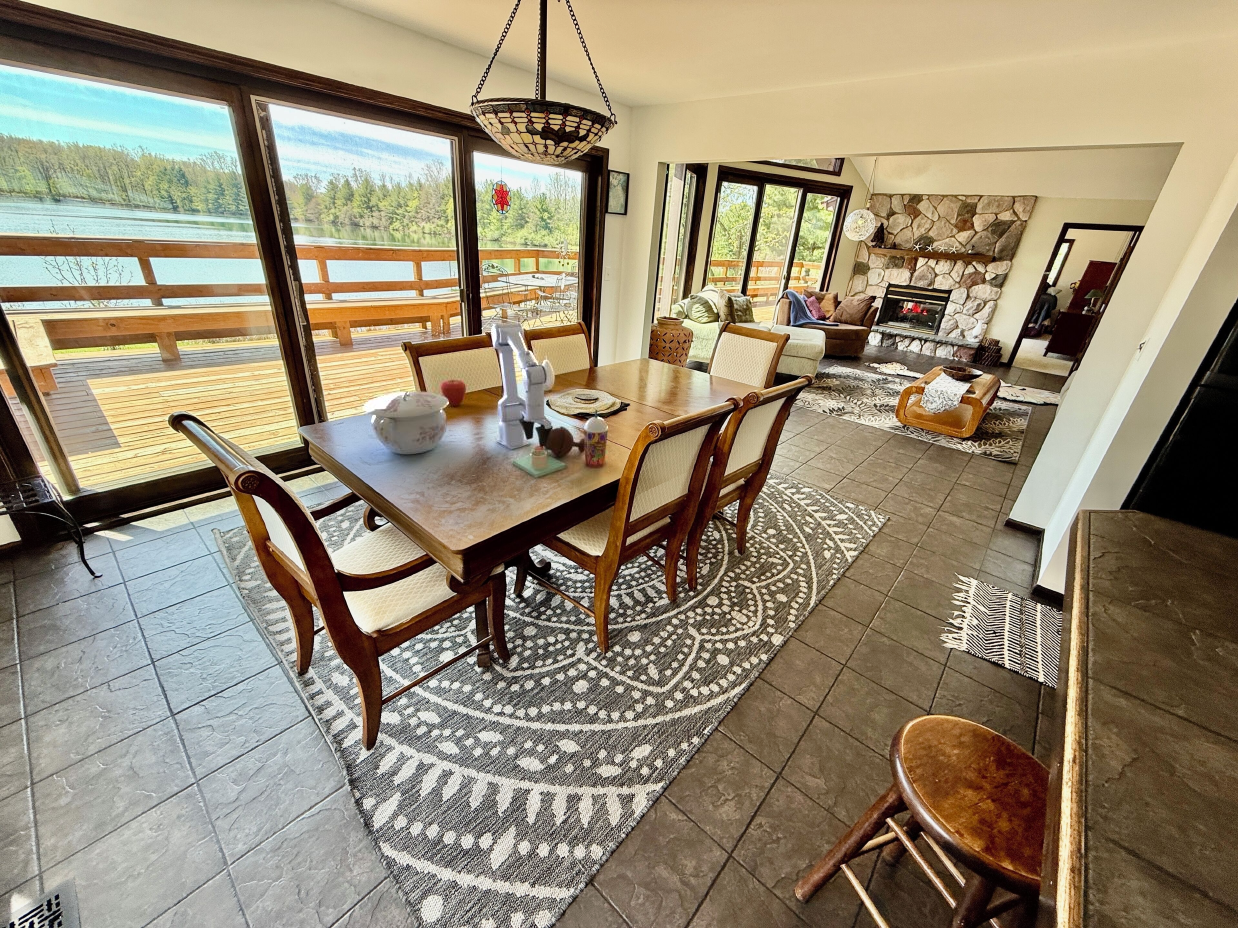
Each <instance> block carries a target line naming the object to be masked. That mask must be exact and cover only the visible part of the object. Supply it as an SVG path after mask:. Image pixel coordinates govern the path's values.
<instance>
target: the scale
mask: <svg viewBox="0 0 1238 928" xmlns="http://www.w3.org/2000/svg"><path fill="white" fill-rule="evenodd" d="M543 449H544V451H546V452H547V462H548V465H547V467H546V468H545V469H543V470H535V469H533V468H532V467H531V459H530V454H527V455H524V456H521V457H518V458H514V459H512V464H513V465H514V466H516V467H518V468H520V469H521V470H523V471H524V472H526V473H528V474H530V475H531V476H532V477H534V478H536V479H537V478H541V477H543V476H545V475H548V474H552V473H555V472H557V471H559V470H564V469H565V468H566V464H565V463H564V462H563V461H560V460H558V459H556V458H554V457H553V456H551V455H549V450H547V449H546V448H545V447H543ZM534 450H535V447H534V448H532V449H531V450H530V453H531V452H532V451H534Z"/></svg>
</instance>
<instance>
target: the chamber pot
mask: <svg viewBox="0 0 1238 928" xmlns="http://www.w3.org/2000/svg"><path fill="white" fill-rule="evenodd" d="M448 403H449V401H448V399H447V398H446V397H444V396H443V394H439V393H436V392H429V391H419V390H418V391H417V390H416V391H412V390H411V391H410V390H409V391H408V390H407V391H399V392H392V393H387V394H383V395H379V396H377V397H374V398H372V399H370V400H368V401H367V402H366V403H364V406H363V411H365V412H366V413H367V414H369V415H371V419H370V423H371V429H372V431H373V434H374V435H375V438H376V439H377V440H378V441H379V442H380V443H381V444H382V445H383V446H384V447H385V448H386V449H387V450H388V451H390V452H391V453H394V454H400V455H417V454H422V453H425V452H428V451H432V450H433V449H435V448H436V447H437V446H438V445H439V444H440V443H441V441H442V439H443V437H444V436H445V434H446V431H447V422H448V421H447V414H446V411H445V410H444V409H445V408H446V407H447V406H448V405H449V404H448Z"/></svg>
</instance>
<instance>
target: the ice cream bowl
mask: <svg viewBox="0 0 1238 928" xmlns="http://www.w3.org/2000/svg"><path fill="white" fill-rule="evenodd" d="M573 447H574V448H577V449H578V452H579V453H580V454H582V453H585V443H584V437H582V438H581V439H580V440H579V441H578V442H577V441H575V440H574V435H573V434H572V433H571V432H570V431H569V429H568V428H566V427H564V426H562V425H561V426H560V427H555V428H553V429H552V430H551V432H550V434H549V436H548V440H547V444H546V446H543V448H545V449H547V450H548V451H550V452H551V453H552V454H553V455H554V456H555V457H556V458H561V457H564V456H566V455H568V454H569V453H570V452H572V450H573Z"/></svg>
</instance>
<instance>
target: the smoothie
mask: <svg viewBox="0 0 1238 928" xmlns="http://www.w3.org/2000/svg"><path fill="white" fill-rule="evenodd" d="M608 432H609V426H608V424H607V422H606V421H605V420H604V419H603V418H602V417H599V416H598V409H595V410H594V416H593V417H590V418H588V419H587V420H586V422H585V424H584V425H583V438H584V443H585V450H584V460H585V463H586V465H587V466H588V467H592V468H599V467H602V466H603V465H604V463H605V462H606V451H607V441H608Z"/></svg>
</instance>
